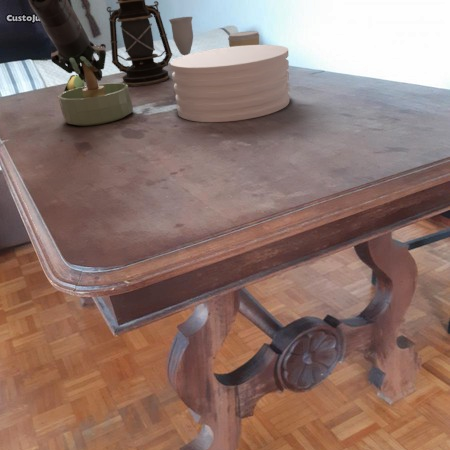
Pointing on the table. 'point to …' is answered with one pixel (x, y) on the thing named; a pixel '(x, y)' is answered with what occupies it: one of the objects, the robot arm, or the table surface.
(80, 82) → the edible corn
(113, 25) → the lantern
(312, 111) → the table surface
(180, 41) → the chalice
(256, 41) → the coffee cup
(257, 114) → the plate stack
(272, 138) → the table surface
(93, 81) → the pestle
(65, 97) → the bowl
